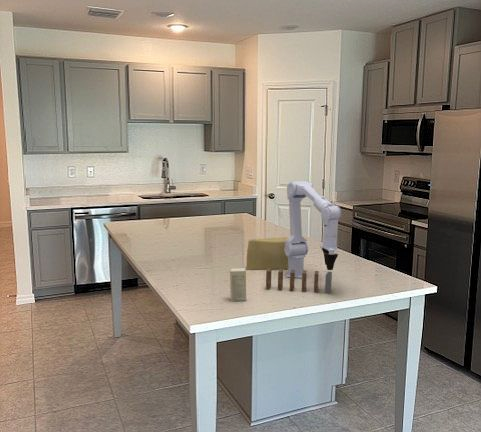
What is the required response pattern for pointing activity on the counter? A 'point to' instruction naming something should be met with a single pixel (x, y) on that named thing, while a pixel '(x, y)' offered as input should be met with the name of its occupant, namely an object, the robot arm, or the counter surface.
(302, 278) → the walnut domino
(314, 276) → the walnut domino
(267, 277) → the walnut domino
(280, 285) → the walnut domino
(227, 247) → the counter surface
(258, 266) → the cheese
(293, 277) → the walnut domino
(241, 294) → the skincare box
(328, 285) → the grey domino
